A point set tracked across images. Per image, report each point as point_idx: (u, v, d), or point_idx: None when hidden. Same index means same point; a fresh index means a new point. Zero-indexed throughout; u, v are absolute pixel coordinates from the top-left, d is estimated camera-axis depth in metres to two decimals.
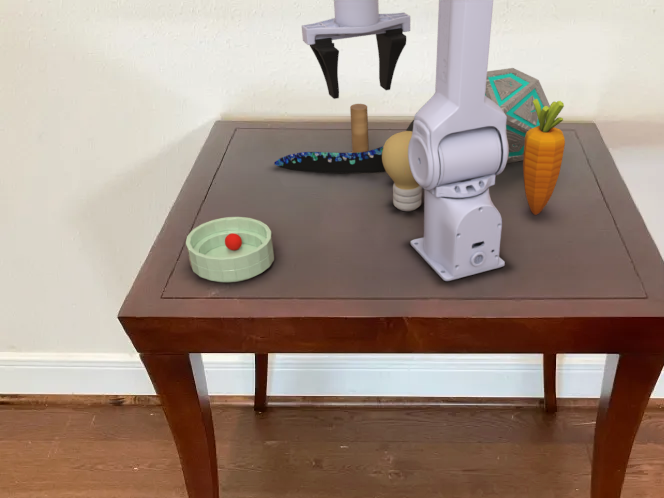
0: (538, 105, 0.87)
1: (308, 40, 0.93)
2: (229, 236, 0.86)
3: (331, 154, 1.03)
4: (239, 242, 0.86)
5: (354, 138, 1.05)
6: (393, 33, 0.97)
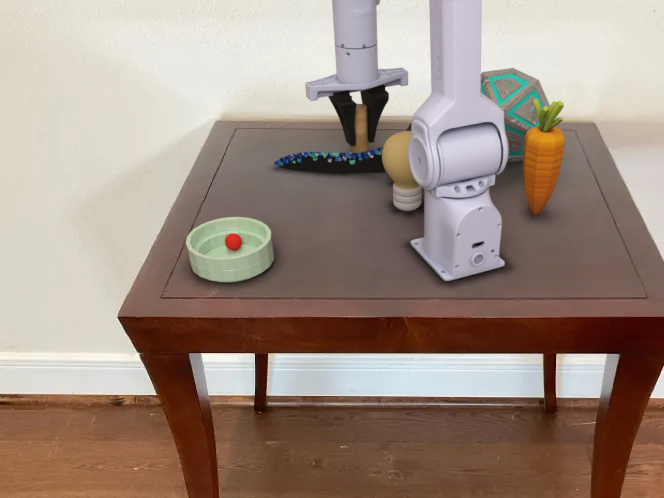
0: (538, 105, 0.87)
1: (311, 96, 0.98)
2: (229, 236, 0.86)
3: (331, 154, 1.03)
4: (239, 242, 0.86)
5: None
6: (376, 90, 1.01)
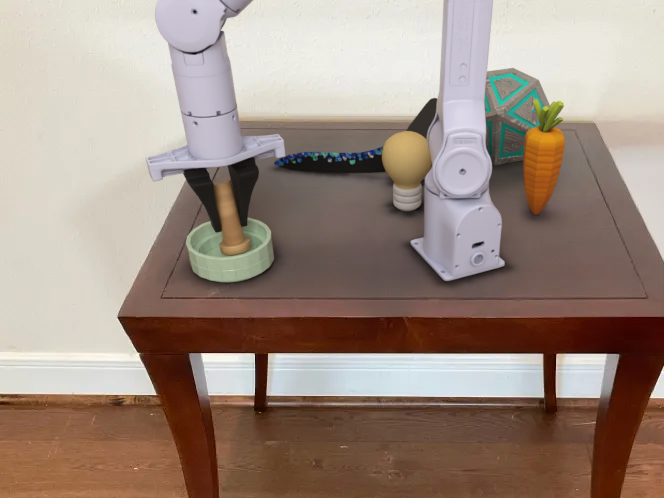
0: (538, 105, 0.87)
1: (153, 176, 0.76)
2: None
3: (331, 154, 1.03)
4: None
5: (220, 221, 0.82)
6: (243, 164, 0.79)
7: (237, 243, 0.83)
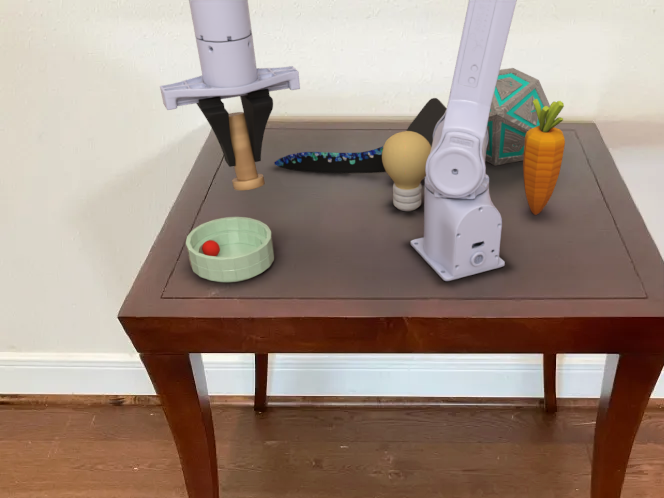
0: (538, 105, 0.87)
1: (167, 104, 0.75)
2: None
3: (331, 154, 1.03)
4: (215, 254, 0.85)
5: None
6: (257, 95, 0.79)
7: (250, 178, 0.83)
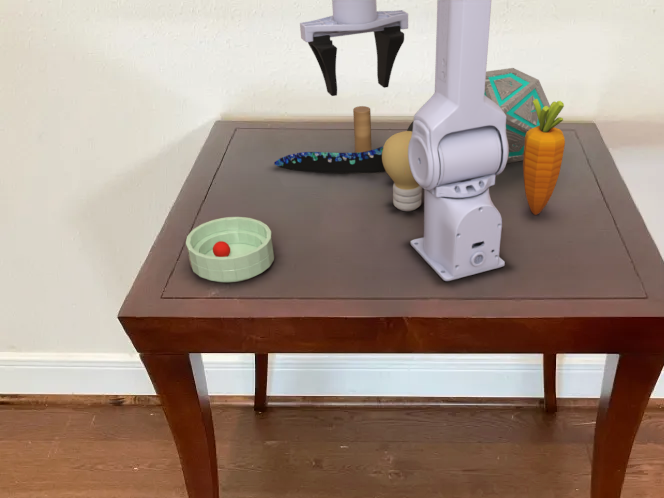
0: (538, 105, 0.87)
1: (306, 37, 0.93)
2: (213, 248, 0.85)
3: (331, 154, 1.03)
4: None
5: (357, 141, 1.04)
6: (391, 30, 0.97)
7: None
